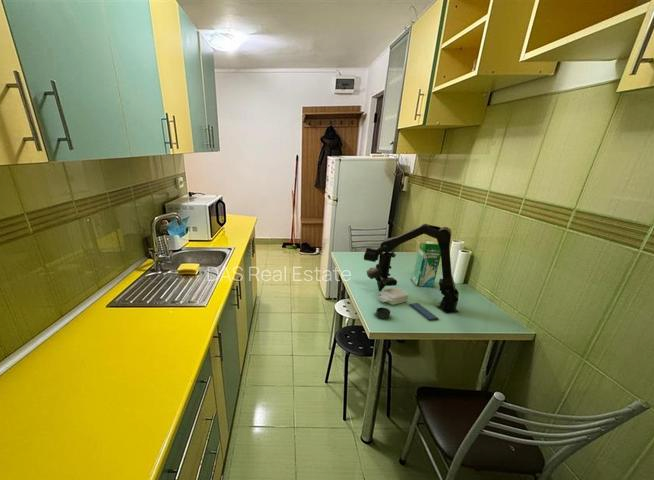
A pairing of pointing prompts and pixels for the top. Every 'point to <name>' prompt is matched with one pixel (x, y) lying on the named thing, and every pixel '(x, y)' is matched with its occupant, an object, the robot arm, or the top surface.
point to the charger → (393, 296)
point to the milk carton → (427, 264)
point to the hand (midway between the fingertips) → (379, 291)
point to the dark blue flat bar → (424, 311)
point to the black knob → (383, 313)
